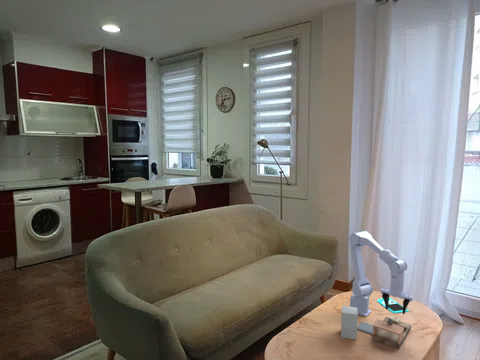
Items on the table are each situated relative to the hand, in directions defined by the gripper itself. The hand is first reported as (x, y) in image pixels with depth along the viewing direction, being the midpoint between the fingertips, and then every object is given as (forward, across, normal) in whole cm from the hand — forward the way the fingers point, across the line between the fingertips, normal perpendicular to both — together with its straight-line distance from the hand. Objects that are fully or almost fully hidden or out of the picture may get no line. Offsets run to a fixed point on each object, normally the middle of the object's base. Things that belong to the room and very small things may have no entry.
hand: (395, 310), depth 166 cm
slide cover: (+8, 0, -11) cm, 14 cm away
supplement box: (+10, -16, -18) cm, 26 cm away
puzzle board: (+10, 0, -4) cm, 11 cm away
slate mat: (+10, -11, -7) cm, 16 cm away
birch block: (+10, 0, 0) cm, 10 cm away
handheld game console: (+11, -8, +26) cm, 29 cm away
